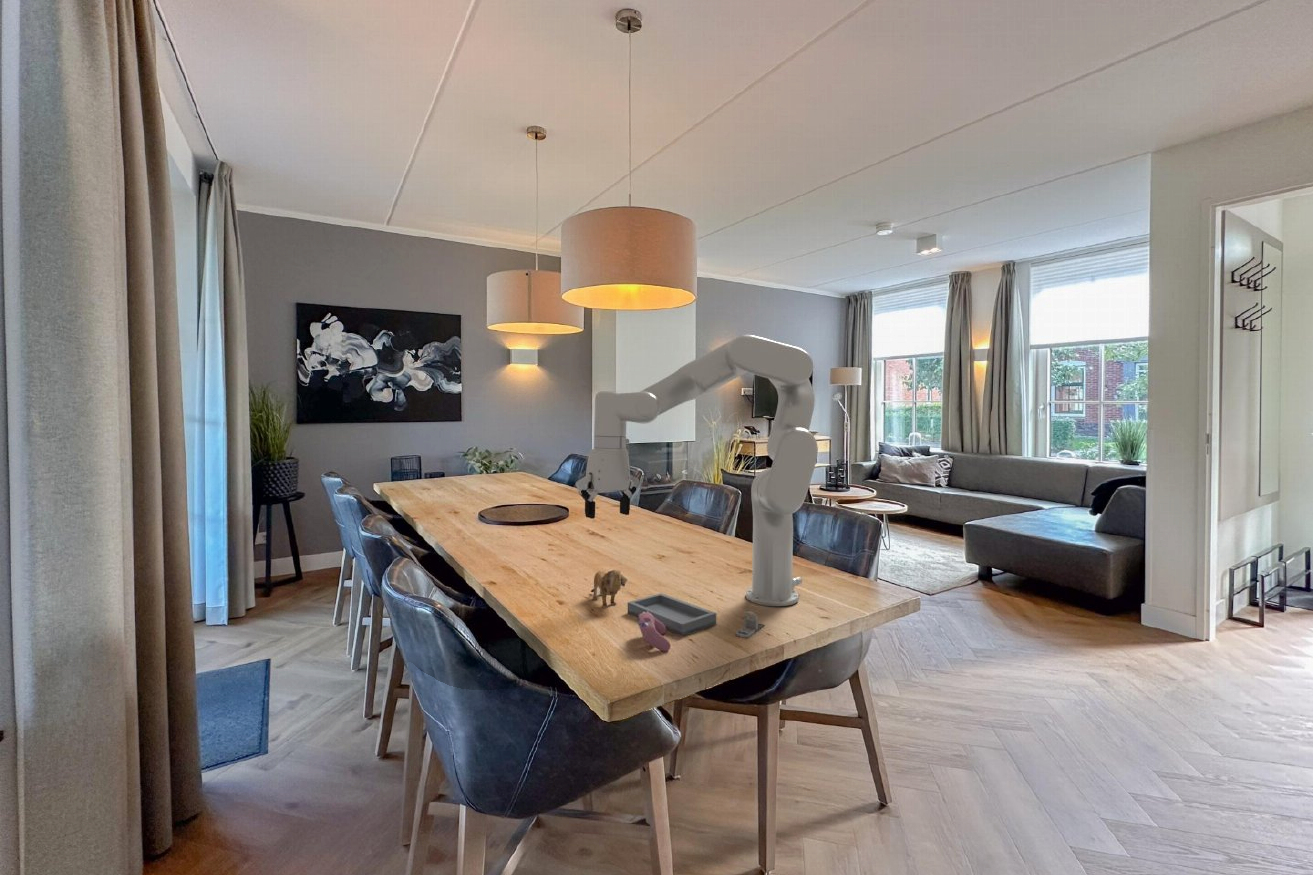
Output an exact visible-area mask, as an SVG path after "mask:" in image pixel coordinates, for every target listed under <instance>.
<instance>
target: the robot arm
mask: <svg viewBox="0 0 1313 875" xmlns="http://www.w3.org/2000/svg"><path fill="white" fill-rule="evenodd" d="M813 372H814V361H813V359H812V357H811V355H810V354H809V352H807V351H806V350H804V349H802V348H800V347H798V346H794V345H790V344H787V343H782V342H779V341H775V340H771V339H769V338H765V337H761V336H756V335H753V334H743V335H739V336H737V337H735V338H733V339H731V340H730V341H728V342H726V343H723V344H722V345H720V346H718V347H716V348H714V349H713V350H710V351H709V352H707V353H704V354H703V355H701V356H699V357H697V358H695V359H693V360H692V361H690V362H688V363H686V364H684V365H682V366H681V367H679V368H678V369H677V370H676V371H673V373H672V374H669V375H668V376H666V377H664V378H662V379H661V380H659V381H658V382H655V383H654V384H652V385H650V386H648V387H646V388H644V389H642V390H640V391H634V392H623V391H612V390H611V391H610V390H608V391H607V390H606V391H604V390H603V391H597V393H596V394H595V398H594V422H593V423H594V424H593V426H594V428H593V429H594V431H593V448H591V449H590V450H589V454H588V457H587V458H588V459H587V462H586V471H585V476H584V477H581V479H579V480H577V481H576V482H575V487H576V489H577V492H578V494H579V495H580V496H581V497H582V500H583V501H584V514H585V516H584V517H586V518H589V519H591V520H592V519H595V518H596V501H594V499H595V498H596V497H597V496H598V494H599V493H600V494H601V493H602V494H604V493H616V492H617V493H618V492H619V493H620V494H621V496H620V498H619V514H621V515H624V516H629V515H630V510H631V499H632V498H633V497H634V496H633V495H634V493H636V491H637V487H638V485H639V484H640V479H639V478H638V477H636V476H634V475H633V474H631V472H630V471H631V468H630V467H631V466H630V458H629V451H628V449H626V448H627V445H629V444H630V439H629V438H627V422H631V423H636V424H644V425H646V424H650V423H653V421H655V420H656V419H657V418H658V416H661V415H662V414H664V413H666V412H667V411H670V410H672V409H674V408H676V407H677V406H679V405H682V404H684V403H686V402H689V401H694V400H696V399H699V398H701V397H704V396H705V395H707V394H710V393H711V392H713V391H715V390H716V389H718V388H721V387H722V386H724V385H726V384H728V383H729V382H731V381H734V380H735V379H738V378H739V377H741V376H743V375H745V374H746V373H749V374H751V375H756V376H758V377H762V378H765V379H768V380H769V381H770V383H771V384H772V385H773V386H774V387H775V389H776V392H777V396H778V398H777V399H778V402H777V408H776V412H775V416H774V420H773V423H772V426H771V429H770V433H769V437H768V440H767V442H766V451H767V452H766V453H767V455H768V457H769V458H770V459H771V460H772V464H771V468H768V469H767V468H766V469H764V470H762V471H760V472H759V473H757V474H756V476H755V477H754V478H753V481H752V483H751V488H750V493H751V494H750V496H751V505H752V506H751V507H752V587H751V588H749V589H747V590H746V592H745V597H746V599H747V600H748V601H749V602H752V603H754V604H756V605H762V606H768V607H787V606H792V605H794V604H796V603H797V602H799V600H800V598H799V597H800V596H799V594H798V593H797V591H795V590H794V588H795V587H797V586H799V585H800V586H801V584H802V583H803V580H802V578H801V577H800V576H796V577H793V558H794V556H793V550H794V549H793V548H794V542H793V541H794V521H793V520H794V519H793V514H794V513H796V512H797V511H798V510H800V509H801V507H802V505H803V504H804V502H805V501H806V497H807V495H808V490H809V488H810V485H811V480H812V478H813V474H814V471H815V467H816V463H817V459H818V450H819V447H818V442H817V439H816V437H815V436H814V434H813V433H812V432H811V431H810V427H811V423H812V418H813V414H814V410H815V401H816V399H815V393H814V392H815V391H814V389H813V385H812V383H811V381H810V378H811V376H812V374H813Z"/></svg>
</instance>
